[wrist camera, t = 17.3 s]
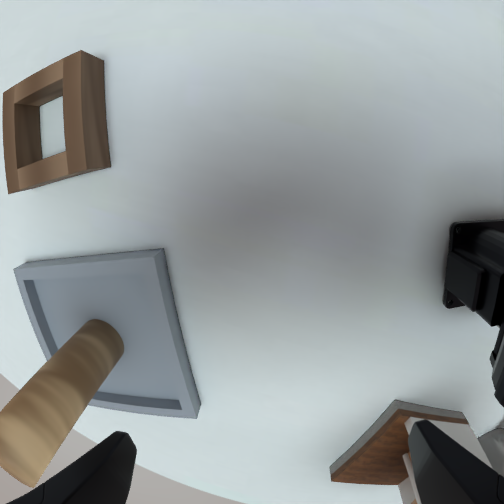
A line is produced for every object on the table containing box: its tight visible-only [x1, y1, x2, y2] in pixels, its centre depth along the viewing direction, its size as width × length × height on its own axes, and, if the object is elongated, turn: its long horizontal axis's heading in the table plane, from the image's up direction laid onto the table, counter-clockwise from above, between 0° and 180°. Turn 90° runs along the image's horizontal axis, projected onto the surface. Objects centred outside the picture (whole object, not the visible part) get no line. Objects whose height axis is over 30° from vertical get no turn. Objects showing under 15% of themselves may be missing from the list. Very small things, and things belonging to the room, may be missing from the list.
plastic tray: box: [13, 248, 201, 419], centre depth 22 cm, size 14×14×2 cm
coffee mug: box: [478, 428, 504, 477], centre depth 20 cm, size 13×10×10 cm
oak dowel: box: [0, 319, 124, 488], centre depth 15 cm, size 4×4×14 cm
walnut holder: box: [3, 50, 111, 194], centre depth 16 cm, size 8×8×3 cm
